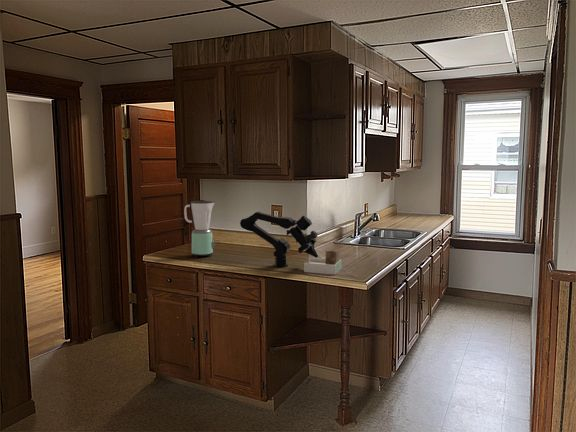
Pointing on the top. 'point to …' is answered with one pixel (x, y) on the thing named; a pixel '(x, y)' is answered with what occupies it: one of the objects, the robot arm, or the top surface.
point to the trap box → (322, 266)
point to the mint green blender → (201, 227)
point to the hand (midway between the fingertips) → (317, 257)
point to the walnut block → (332, 256)
